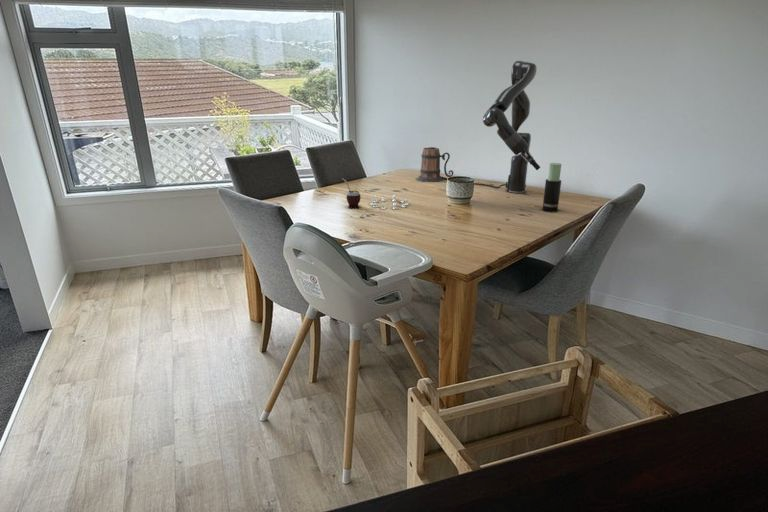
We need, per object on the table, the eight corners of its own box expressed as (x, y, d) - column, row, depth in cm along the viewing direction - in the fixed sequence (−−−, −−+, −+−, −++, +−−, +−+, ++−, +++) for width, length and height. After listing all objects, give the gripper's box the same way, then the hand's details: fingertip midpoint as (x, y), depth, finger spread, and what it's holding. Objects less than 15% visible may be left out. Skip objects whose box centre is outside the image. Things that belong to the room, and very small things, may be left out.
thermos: (539, 210, 235) (543, 180, 230) (545, 207, 241) (548, 178, 236) (554, 212, 231) (558, 182, 226) (559, 209, 237) (563, 179, 231)
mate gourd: (363, 207, 241) (363, 177, 235) (352, 210, 235) (351, 179, 230) (353, 204, 245) (352, 175, 240) (342, 207, 240) (341, 177, 235)
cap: (546, 180, 230) (548, 163, 228) (550, 178, 234) (552, 162, 231) (557, 181, 227) (559, 164, 225) (560, 180, 231) (563, 163, 228)
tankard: (414, 180, 304) (414, 149, 297) (420, 176, 319) (421, 146, 312) (450, 183, 297) (452, 151, 290) (455, 178, 312) (456, 147, 305)
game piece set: (384, 198, 259) (384, 191, 258) (415, 203, 248) (415, 196, 247) (362, 205, 244) (362, 198, 243) (394, 211, 233) (394, 203, 232)
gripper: (523, 138, 220) (546, 164, 222) (520, 135, 233) (541, 159, 235) (510, 150, 222) (533, 175, 225) (508, 146, 236) (529, 170, 238)
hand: (537, 167), depth 230 cm, fingers open, 8 cm apart
